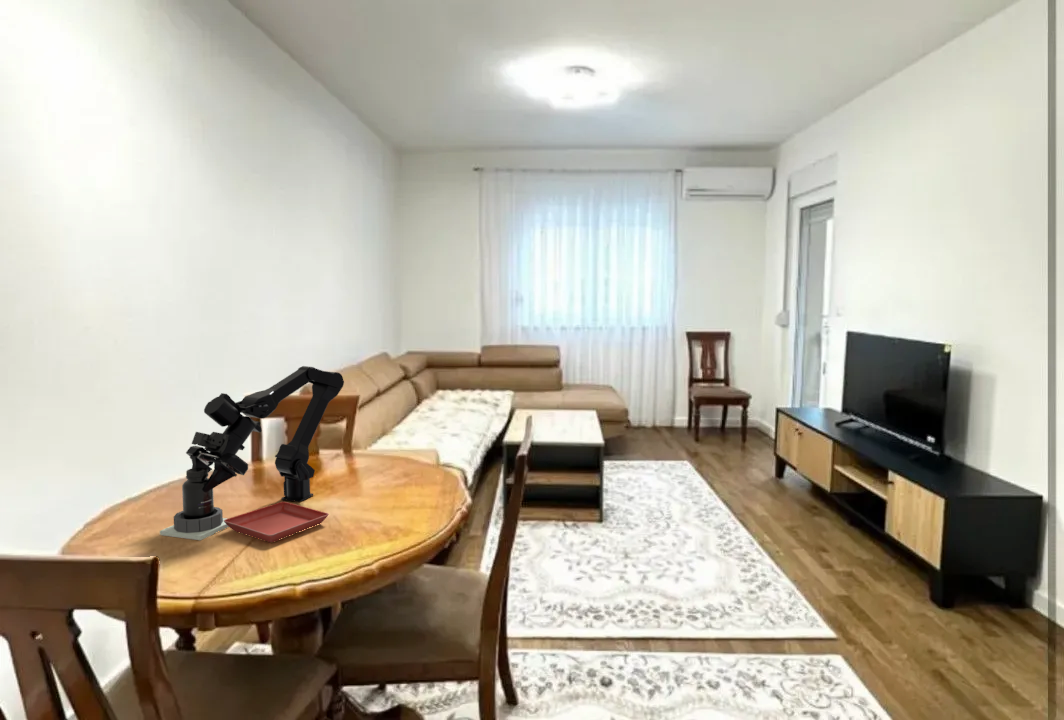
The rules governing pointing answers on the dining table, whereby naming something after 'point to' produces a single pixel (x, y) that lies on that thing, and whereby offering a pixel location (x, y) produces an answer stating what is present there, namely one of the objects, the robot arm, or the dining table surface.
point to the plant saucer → (276, 521)
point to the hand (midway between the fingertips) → (195, 489)
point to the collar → (198, 522)
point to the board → (196, 536)
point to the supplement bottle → (197, 495)
